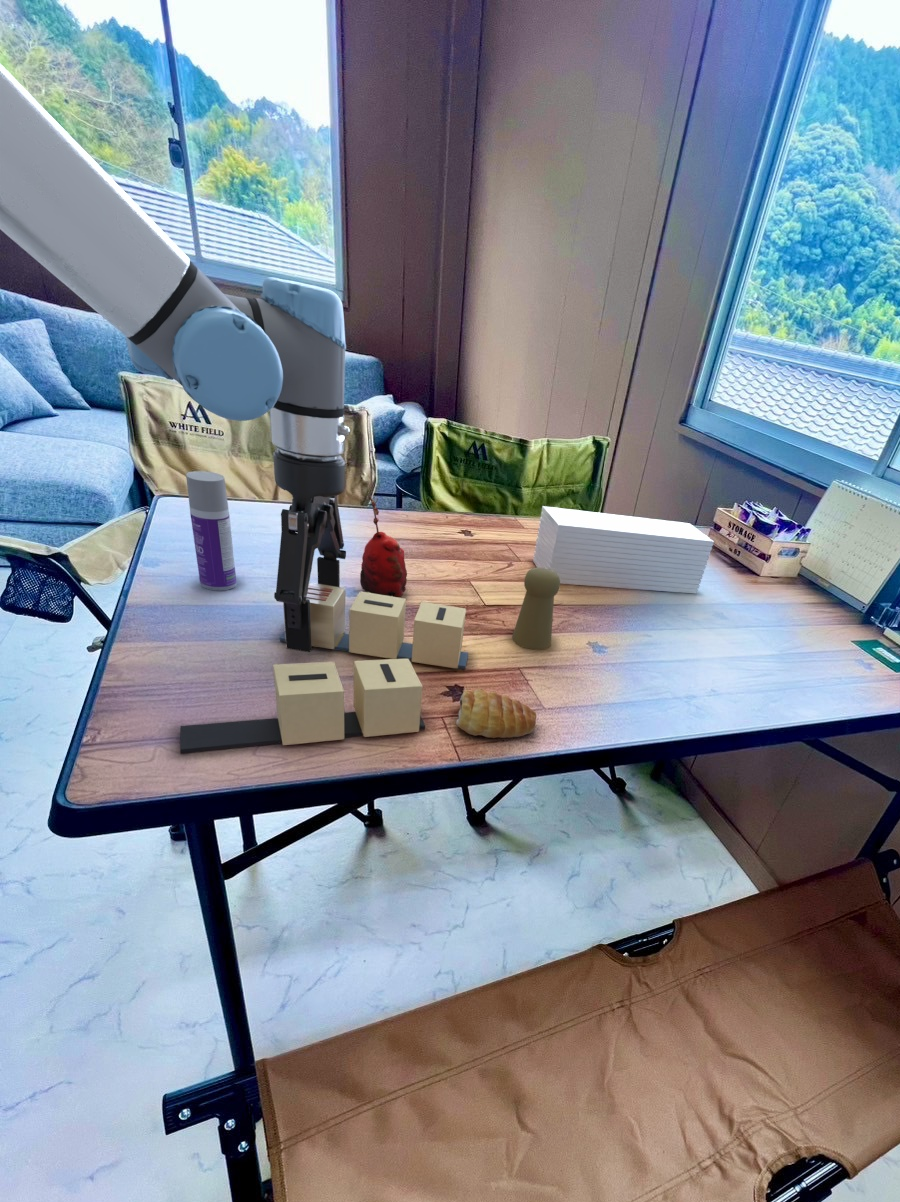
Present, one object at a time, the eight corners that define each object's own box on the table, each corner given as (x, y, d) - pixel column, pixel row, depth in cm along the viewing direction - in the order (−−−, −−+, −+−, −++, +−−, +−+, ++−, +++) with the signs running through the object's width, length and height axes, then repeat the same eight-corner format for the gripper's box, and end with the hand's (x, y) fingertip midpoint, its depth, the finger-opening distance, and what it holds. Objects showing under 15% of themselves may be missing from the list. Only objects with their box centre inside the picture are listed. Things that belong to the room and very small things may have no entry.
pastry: (532, 713, 77) (537, 687, 75) (536, 745, 72) (542, 719, 70) (456, 705, 76) (459, 678, 73) (455, 738, 70) (458, 710, 68)
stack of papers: (674, 573, 133) (689, 523, 127) (696, 593, 125) (714, 541, 119) (532, 561, 123) (542, 505, 117) (547, 582, 115) (558, 524, 109)
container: (192, 585, 88) (176, 475, 79) (213, 574, 92) (199, 468, 83) (224, 593, 88) (211, 483, 79) (243, 582, 92) (232, 476, 83)
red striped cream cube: (285, 642, 79) (282, 597, 76) (300, 622, 84) (298, 579, 80) (333, 649, 80) (333, 605, 76) (345, 629, 85) (345, 587, 81)
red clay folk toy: (413, 599, 98) (419, 502, 89) (370, 602, 94) (372, 502, 86) (394, 580, 103) (398, 486, 94) (352, 582, 99) (352, 485, 90)
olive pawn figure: (558, 642, 95) (573, 573, 89) (537, 653, 91) (551, 582, 85) (526, 627, 97) (538, 559, 91) (504, 638, 93) (515, 567, 87)
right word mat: (276, 644, 79) (273, 596, 75) (291, 624, 84) (289, 578, 80) (464, 673, 82) (470, 628, 79) (468, 652, 87) (473, 609, 83)
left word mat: (180, 759, 59) (169, 701, 55) (181, 724, 63) (170, 668, 59) (427, 734, 70) (432, 684, 66) (413, 705, 74) (417, 656, 70)
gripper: (311, 485, 59) (317, 676, 71) (368, 438, 80) (365, 593, 92) (229, 470, 58) (249, 666, 70) (308, 426, 79) (313, 584, 91)
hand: (315, 625), depth 81 cm, fingers open, 13 cm apart
